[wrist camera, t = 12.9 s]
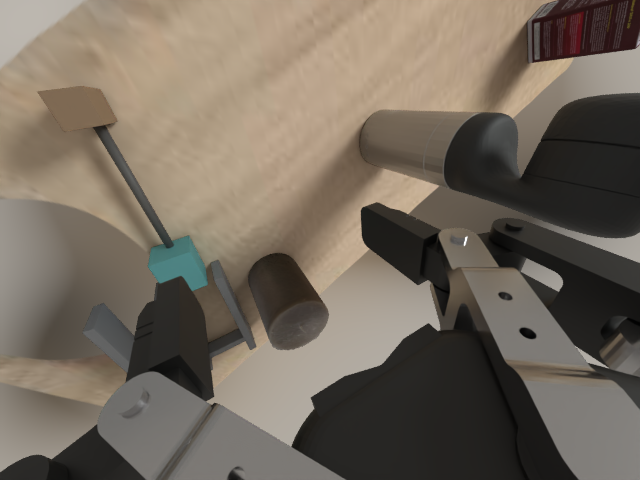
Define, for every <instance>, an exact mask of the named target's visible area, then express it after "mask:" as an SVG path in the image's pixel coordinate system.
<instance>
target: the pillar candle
mask: <svg viewBox="0 0 640 480" xmlns="http://www.w3.org/2000/svg"><path fill="white" fill-rule="evenodd" d="M248 282H249V286H250V288H251V291H252V294H253V296H254V299H255V302H256V305H257V308H258V310H259V313H260V316H261V319H262V321H263V324H264V327H265V330H266V332H267V335H268V338H269V340H270V342H271V344H272V346H273V347H274V348H276V349H278V350H290V349H295V348H299V347H301V346H304V345H306V344H307V343H309V342H310V341H312V340H314V339H316V338H317V337H318V336H319V334H320V333H321V332H322V330H323V329H324V327H325V326H326V323H327V321H328V316H329V313H328V309H327V308H326V306H325V304H324V303H323V301H322V300H321V298H320V297H319V295H318V294H317V292H316V291H315V289H314V288H313V287H312V285H311V284H310V282H309V281H308V279H307V278H306V276H305V275H304V273H303V272H302V271H301V269H300V268H299V266H298V265H297V263H296V262H295V261H294V260H293V259H292V258H291V257H290V256H288V255H286V254H282V253H281V254H280V253H279V254H278V253H275V254H270V255H267V256H265V257H263V258H261V259H260V260H259V261H258V262H256V263H255V264H254V266H253V267H252V269H251V270H250V273H249V276H248Z"/></svg>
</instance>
